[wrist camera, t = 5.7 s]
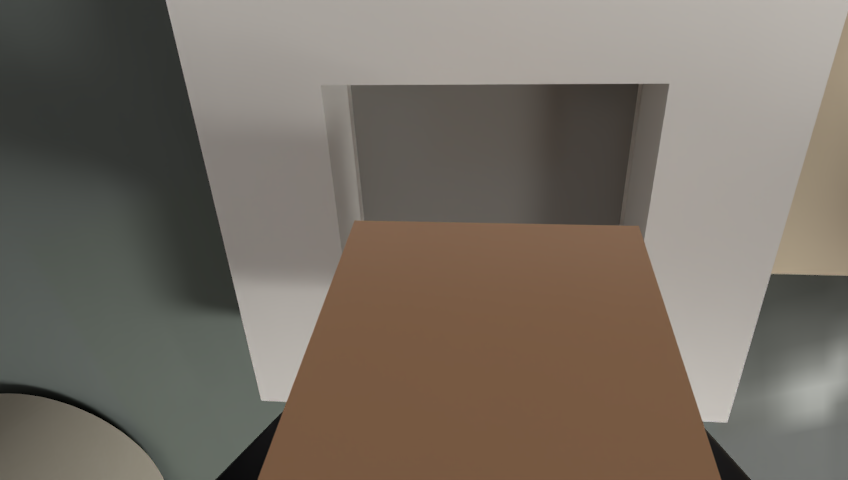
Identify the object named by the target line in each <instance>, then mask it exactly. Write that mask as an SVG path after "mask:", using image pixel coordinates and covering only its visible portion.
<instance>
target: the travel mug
mask: <svg viewBox="0 0 848 480" xmlns="http://www.w3.org/2000/svg"><path fill="white" fill-rule="evenodd" d="M0 480H164V479H163V477H162V475H161V473H160V471H159V470H158V468H157V467H156V465H155V464H154V462H153V461H152V460H151V458H150V457H149V456H148V455H147V454H146V453H145V452H144V451H143V450H142V448H141V447H139V446H138V445H137V444H136V443H135V442H134V441H133V440H132V439H130V438H129V437H128V436H127V435H125V434H124V433H123V432H121V431H120V430H118V429H117V428H115V427H114V426H112V425H111V424H109V423H107V422H106V421H104V420H102V419H100V418H98V417H96V416H94V415H93V414H90V413H88V412H86V411H84V410H81V409H79V408H76V407H74V406H71V405H69V404H65V403H62V402H59V401H56V400H52V399H48V398H44V397H39V396H33V395H25V394H12V393H4V394H0Z"/></svg>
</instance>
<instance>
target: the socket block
mask: <svg viewBox="0 0 848 480" xmlns="http://www.w3.org/2000/svg"><path fill="white" fill-rule="evenodd" d="M166 4H167V8H168V12H169V16H170V20H171V24H172V29H173V33H174V37H175V41H176V45H177V50H178V54H179V58H180V62H181V66H182V71H183V75H184V79H185V83H186V87H187V91H188V96H189V100H190V104H191V108H192V112H193V117H194V121H195V125H196V129H197V133H198V137H199V142H200V146H201V150H202V154H203V158H204V163H205V167H206V171H207V175H208V179H209V183H210V188H211V192H212V196H213V200H214V204H215V209H216V213H217V217H218V221H219V225H220V229H221V234H222V238H223V242H224V246H225V250H226V255H227V259H228V263H229V267H230V271H231V276H232V280H233V284H234V288H235V292H236V296H237V301H238V305H239V309H240V313H241V317H242V322H243V326H244V330H245V334H246V338H247V342H248V347H249V351H250V355H251V359H252V363H253V368H254V372H255V376H256V380H257V384H258V388H259V393H260V397H261V401H280V402H287V400H288V397H289V394H290V392H291V389H292V386H293V384H294V381H295V378H296V376H297V373H298V370H299V368H300V365H301V362H302V360H303V357H304V354H305V352H306V349H307V346H308V344H309V341H310V338H311V336H312V333H313V330H314V328H315V325H316V322H317V320H318V317H319V314H320V312H321V309H322V306H323V304H324V301H325V298H326V296H327V293H328V290H329V287H330V285H331V282H332V279H333V277H334V274H335V271H336V269H337V266H338V263H339V261H340V258H341V255H342V253H343V250H344V247H345V245H346V242H347V239H348V237H349V234H350V231H351V229H352V226H353V223H354V221H355V220H356V221H409V222H461V223H514V224H567V225H619V226H639V228H640V231H641V234H642V237H643V240H644V243H645V246H646V249H647V252H648V255H649V258H650V261H651V265H652V268H653V271H654V274H655V277H656V280H657V283H658V286H659V289H660V292H661V295H662V298H663V301H664V305H665V308H666V311H667V314H668V317H669V320H670V323H671V326H672V329H673V332H674V335H675V338H676V342H677V345H678V348H679V351H680V354H681V357H682V360H683V363H684V366H685V369H686V372H687V375H688V378H689V382H690V385H691V388H692V391H693V394H694V397H695V400H696V403H697V406H698V409H699V412H700V415H701V419H702V421H705V422H726V423H727V422H728V418H729V415H730V412H731V408H732V405H733V401H734V398H735V395H736V391H737V388H738V384H739V381H740V377H741V374H742V371H743V367H744V364H745V360H746V357H747V354H748V350H749V347H750V343H751V340H752V337H753V333H754V330H755V326H756V323H757V320H758V316H759V313H760V309H761V306H762V303H763V299H764V296H765V292H766V289H767V285H768V282H769V279H770V275H771V272H772V268H773V265H774V262H775V258H776V255H777V251H778V248H779V245H780V241H781V238H782V234H783V231H784V228H785V224H786V221H787V217H788V214H789V211H790V207H791V204H792V200H793V197H794V193H795V190H796V187H797V183H798V180H799V176H800V173H801V170H802V166H803V163H804V159H805V156H806V153H807V149H808V146H809V142H810V139H811V136H812V132H813V129H814V125H815V122H816V119H817V115H818V112H819V108H820V105H821V101H822V98H823V95H824V91H825V88H826V84H827V81H828V78H829V74H830V71H831V67H832V64H833V61H834V57H835V54H836V50H837V47H838V44H839V40H840V37H841V33H842V30H843V27H844V23H845V20H846V16H847V13H848V0H166Z"/></svg>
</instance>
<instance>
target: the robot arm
mask: <svg viewBox="0 0 848 480" xmlns="http://www.w3.org/2000/svg"><path fill="white" fill-rule="evenodd" d="M282 413H283V412H282ZM282 413H281V414H280V415H279V416H278V417H277V418H276V419H275V420H274V421H273V422H272V423H271V424H270V425H269V426H268V427H267V428H266V429H265V430H264V431H263V432H262V433H261V434H260V435H259V436H258V437H257V438H256V439H255V440H254V441H253V442H252V443H251V444H250V445H249V446H248V447H247V448H246V449H245V450H244V451H243V452H242V453H241V454H240V455H239V456H238V457H237V458H236V459H235V460H234V461H233V462H232V463H231V464H230V465H229V466H228V468H227V469H226V470H225V471H224V472H223V473H222V474H221V475H220V476H219V477H218V478H217V479H216V480H258V477H259V474H260V472H261V469H262V466H263V464H264V461H265V458H266V456H267V453H268V450H269V448H270V445H271V442H272V440H273V437H274V434H275V432H276V429H277V426H278V424H279V421H280V418H281V416H282ZM705 431H706V434H707V437H708V440H709V443H710V446H711V449H712V452H713V456H714V459H715V462H716V465H717V468H718V471H719V474H720V477H721V480H751V479H750V478H749V477H748V476H747V475H746V474H745V473H744V471H743V470H742V469H741V468H740V467H739V466H738V465H737V464H736V463H735V461H734V460H733V459H732V458H731V457H730V456H729V455H728V454H727V453H726V451H725V450H724V449H723V448H722V447H721V446H720V445H719V444H718V443H717V441H716V440H715V439H714V438H713V437H712V436H711V435H710V434H709V433H708V431H707V430H706V429H705Z"/></svg>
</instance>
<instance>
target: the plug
mask: <svg viewBox="0 0 848 480" xmlns="http://www.w3.org/2000/svg"><path fill="white" fill-rule="evenodd" d="M258 480H721V477H720V474H719V471H718V468H717V465H716V462H715V459H714V456H713V452H712V449H711V446H710V443H709V440H708V437H707V434H706V431H705V428H704V425H703V422H702V419H701V415H700V412H699V409H698V406H697V403H696V400H695V397H694V394H693V391H692V388H691V385H690V382H689V378H688V375H687V372H686V369H685V366H684V363H683V360H682V357H681V354H680V351H679V348H678V345H677V342H676V338H675V335H674V332H673V329H672V326H671V323H670V320H669V317H668V314H667V311H666V308H665V305H664V301H663V298H662V295H661V292H660V289H659V286H658V283H657V280H656V277H655V274H654V271H653V268H652V265H651V261H650V258H649V255H648V252H647V249H646V246H645V243H644V240H643V237H642V234H641V231H640V228H639V226H619V225H567V224H514V223H461V222H409V221H356V220H355V221H354V223H353V226H352V229H351V231H350V234H349V237H348V239H347V242H346V245H345V247H344V250H343V253H342V255H341V258H340V261H339V263H338V266H337V269H336V271H335V274H334V277H333V279H332V282H331V285H330V287H329V290H328V293H327V296H326V298H325V301H324V304H323V306H322V309H321V312H320V314H319V317H318V320H317V322H316V325H315V328H314V330H313V333H312V336H311V338H310V341H309V344H308V346H307V349H306V352H305V354H304V357H303V360H302V362H301V365H300V368H299V370H298V373H297V376H296V378H295V381H294V384H293V386H292V389H291V392H290V394H289V397H288V400H287V402H286V405H285V408H284V410H283V413H282V416H281V418H280V421H279V424H278V426H277V429H276V432H275V434H274V437H273V440H272V442H271V445H270V448H269V450H268V453H267V456H266V458H265V461H264V464H263V466H262V469H261V472H260V474H259V477H258Z"/></svg>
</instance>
